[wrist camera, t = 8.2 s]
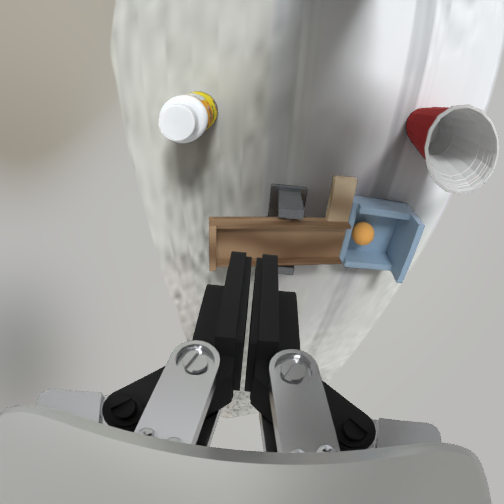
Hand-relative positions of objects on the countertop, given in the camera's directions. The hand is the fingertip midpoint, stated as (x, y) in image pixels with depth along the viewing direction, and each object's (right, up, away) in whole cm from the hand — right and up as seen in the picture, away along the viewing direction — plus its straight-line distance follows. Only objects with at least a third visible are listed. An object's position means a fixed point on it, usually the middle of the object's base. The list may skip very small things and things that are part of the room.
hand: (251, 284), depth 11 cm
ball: (+16, +4, +31) cm, 35 cm away
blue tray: (+18, +5, +33) cm, 38 cm away
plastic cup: (+24, +19, +23) cm, 38 cm away
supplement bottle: (-7, +20, +25) cm, 33 cm away
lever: (+4, +5, +27) cm, 28 cm away
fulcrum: (+5, +6, +33) cm, 34 cm away
